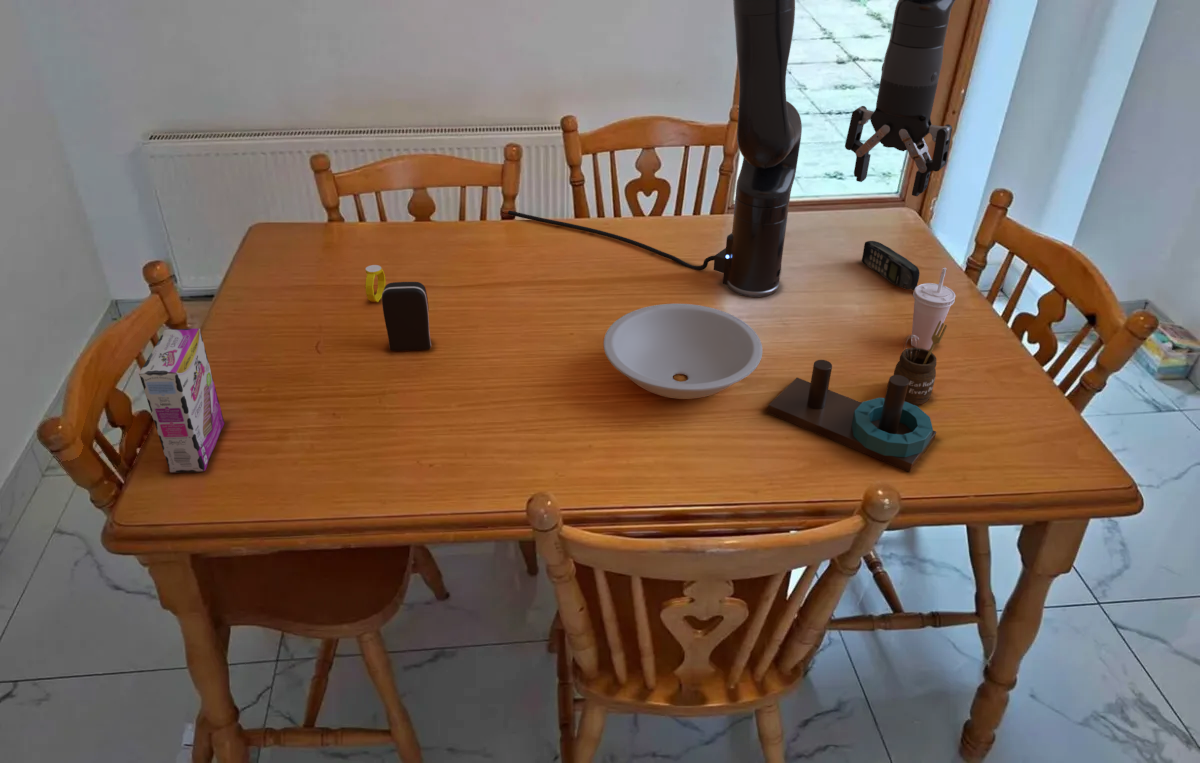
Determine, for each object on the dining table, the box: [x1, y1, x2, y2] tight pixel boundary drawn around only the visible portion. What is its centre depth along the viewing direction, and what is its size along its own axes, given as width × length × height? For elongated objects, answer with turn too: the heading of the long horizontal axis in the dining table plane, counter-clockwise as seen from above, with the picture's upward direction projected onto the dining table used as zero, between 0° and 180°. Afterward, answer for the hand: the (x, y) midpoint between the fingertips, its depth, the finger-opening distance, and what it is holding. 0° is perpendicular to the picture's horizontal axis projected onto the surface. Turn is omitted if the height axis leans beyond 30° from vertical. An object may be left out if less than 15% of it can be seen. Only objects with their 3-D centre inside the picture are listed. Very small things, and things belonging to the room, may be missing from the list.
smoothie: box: [910, 267, 956, 351], centre depth 149 cm, size 6×6×14 cm
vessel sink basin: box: [603, 303, 763, 400], centre depth 143 cm, size 24×24×7 cm
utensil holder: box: [893, 321, 948, 406], centre depth 138 cm, size 6×6×12 cm
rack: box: [767, 359, 937, 473], centre depth 132 cm, size 22×9×10 cm, turn 53°
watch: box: [364, 264, 387, 303], centre depth 163 cm, size 6×3×6 cm, turn 171°
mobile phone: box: [861, 240, 921, 291], centre depth 170 cm, size 5×3×15 cm
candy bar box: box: [138, 327, 225, 474], centre depth 125 cm, size 11×5×16 cm, turn 5°
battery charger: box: [381, 281, 432, 352], centre depth 149 cm, size 7×4×11 cm, turn 94°
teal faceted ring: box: [852, 397, 934, 457], centre depth 131 cm, size 10×10×2 cm
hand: (888, 187), depth 136 cm, fingers open, 8 cm apart
